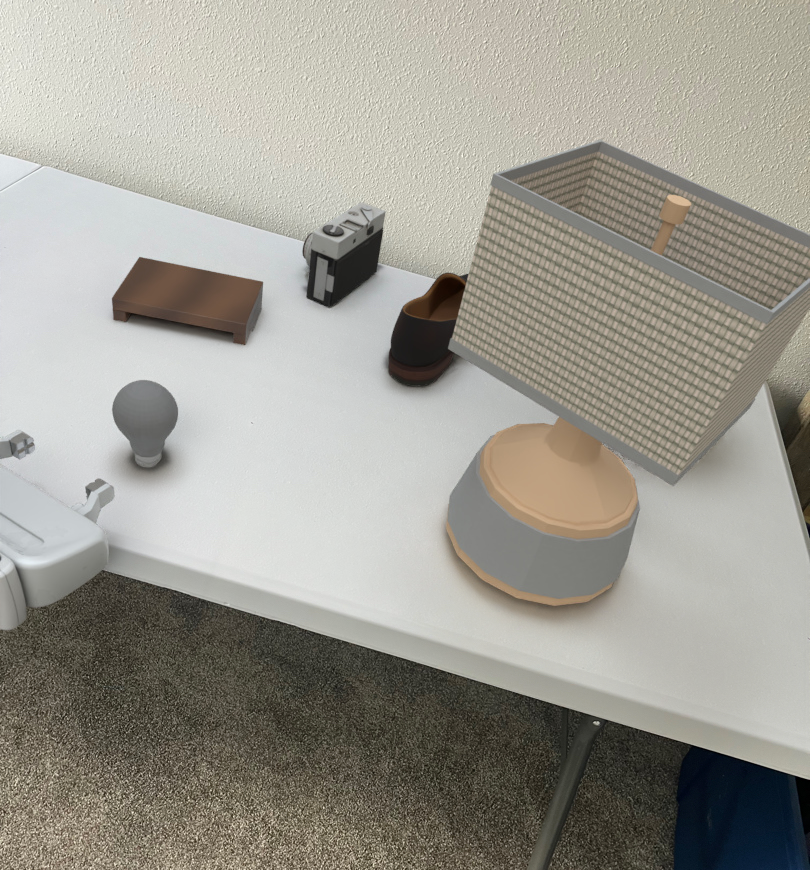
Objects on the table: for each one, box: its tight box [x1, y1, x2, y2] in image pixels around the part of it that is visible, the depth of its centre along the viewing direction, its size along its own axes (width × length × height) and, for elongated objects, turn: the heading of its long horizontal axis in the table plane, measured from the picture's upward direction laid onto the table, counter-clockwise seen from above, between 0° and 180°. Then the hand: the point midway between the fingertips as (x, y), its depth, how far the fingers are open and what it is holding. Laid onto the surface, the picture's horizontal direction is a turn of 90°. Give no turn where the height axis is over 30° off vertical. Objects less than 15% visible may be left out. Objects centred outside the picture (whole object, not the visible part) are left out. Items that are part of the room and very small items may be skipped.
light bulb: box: [111, 379, 179, 468], centre depth 76 cm, size 6×6×10 cm
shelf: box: [111, 256, 264, 346], centre depth 99 cm, size 16×11×4 cm
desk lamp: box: [445, 139, 810, 607], centre depth 69 cm, size 22×19×37 cm
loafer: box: [387, 272, 469, 387], centre depth 104 cm, size 10×28×10 cm, turn 154°
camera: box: [301, 201, 387, 309], centre depth 110 cm, size 14×8×10 cm, turn 154°
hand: (67, 463), depth 69 cm, fingers open, 8 cm apart
